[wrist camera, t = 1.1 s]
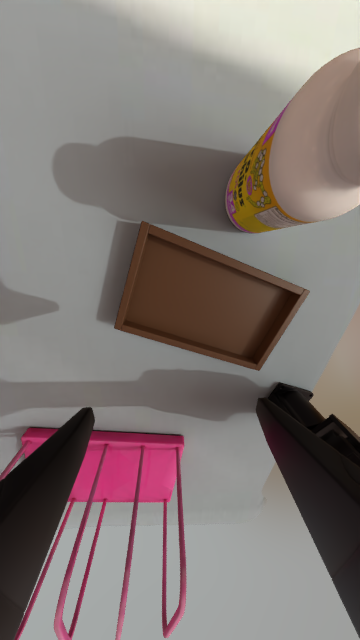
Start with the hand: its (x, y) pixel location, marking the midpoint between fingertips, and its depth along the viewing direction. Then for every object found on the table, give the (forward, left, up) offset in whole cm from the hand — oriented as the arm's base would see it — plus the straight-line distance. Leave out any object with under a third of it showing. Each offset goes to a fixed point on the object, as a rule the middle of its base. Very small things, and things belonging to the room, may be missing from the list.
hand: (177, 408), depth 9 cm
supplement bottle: (-4, -15, -14) cm, 21 cm away
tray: (-4, -3, -14) cm, 14 cm away
